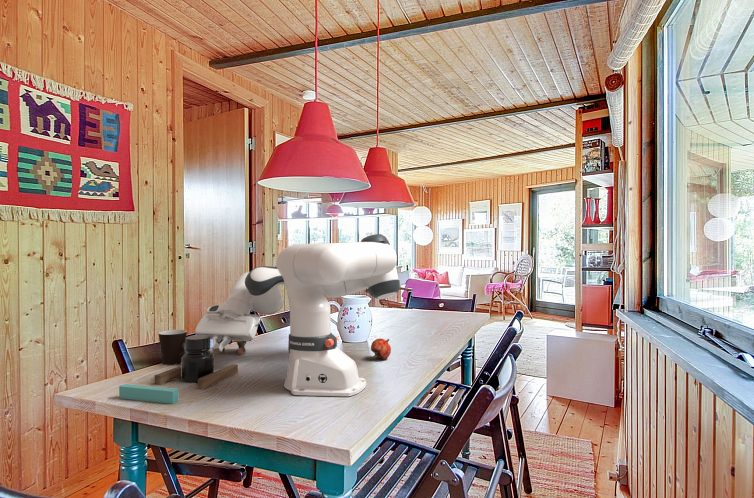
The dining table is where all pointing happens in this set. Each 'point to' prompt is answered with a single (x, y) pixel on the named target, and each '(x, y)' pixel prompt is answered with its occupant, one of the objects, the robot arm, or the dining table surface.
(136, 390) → the bar
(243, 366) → the dining table surface
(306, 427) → the dining table surface
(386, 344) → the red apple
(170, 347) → the coffee mug
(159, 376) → the lane
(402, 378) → the dining table surface
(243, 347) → the brown animal figurine
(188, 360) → the ink bottle
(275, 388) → the dining table surface
